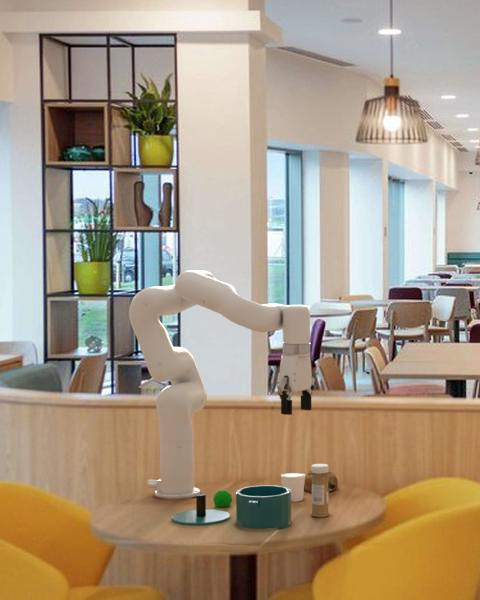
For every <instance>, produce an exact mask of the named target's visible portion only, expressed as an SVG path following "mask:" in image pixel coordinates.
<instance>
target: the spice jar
mask: <svg viewBox="0 0 480 600" xmlns="http://www.w3.org/2000/svg"><path fill="white" fill-rule="evenodd" d="M329 470H330V468H329V464H327V463H313V464H312V465H311V466H310V471H311V472H312V492H311V516H312V517H313V518H326V517H328V516H329V514H330V513H329V492H328V472H329Z"/></svg>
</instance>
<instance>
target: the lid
mask: <svg viewBox="0 0 480 600" xmlns="http://www.w3.org/2000/svg"><path fill="white" fill-rule="evenodd" d="M195 498H196V499H195V507H196V508H195V509H191V510H184V511H181V512H177V513H175V514H174V515H172V517H171V520H172V522H173V523H175V524H178V525H183V526H184V525H185V526H209V525H216V524H221V523H223V522H226V521H228V520H229V519H230V518H231V514H230V512H228V511H225V510H221V509H210V508H207V494H206V493H200V494H197V495H196V496H195Z"/></svg>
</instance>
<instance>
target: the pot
mask: <svg viewBox="0 0 480 600" xmlns="http://www.w3.org/2000/svg"><path fill="white" fill-rule="evenodd" d="M235 523H236V526H238V527H241V528H244V529H245V528H246V529H253V530H266V529H268V530H269V529H276V530H282V529H285V528H287V527H289V526H291V523H292V501H291V490H290V489H289V488H286V487H283V486H282V485H271V484H270V485H269V484H264V485H263V484H262V485H251V486H245V487H241V488H238V489H237V490H236V491H235Z"/></svg>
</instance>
